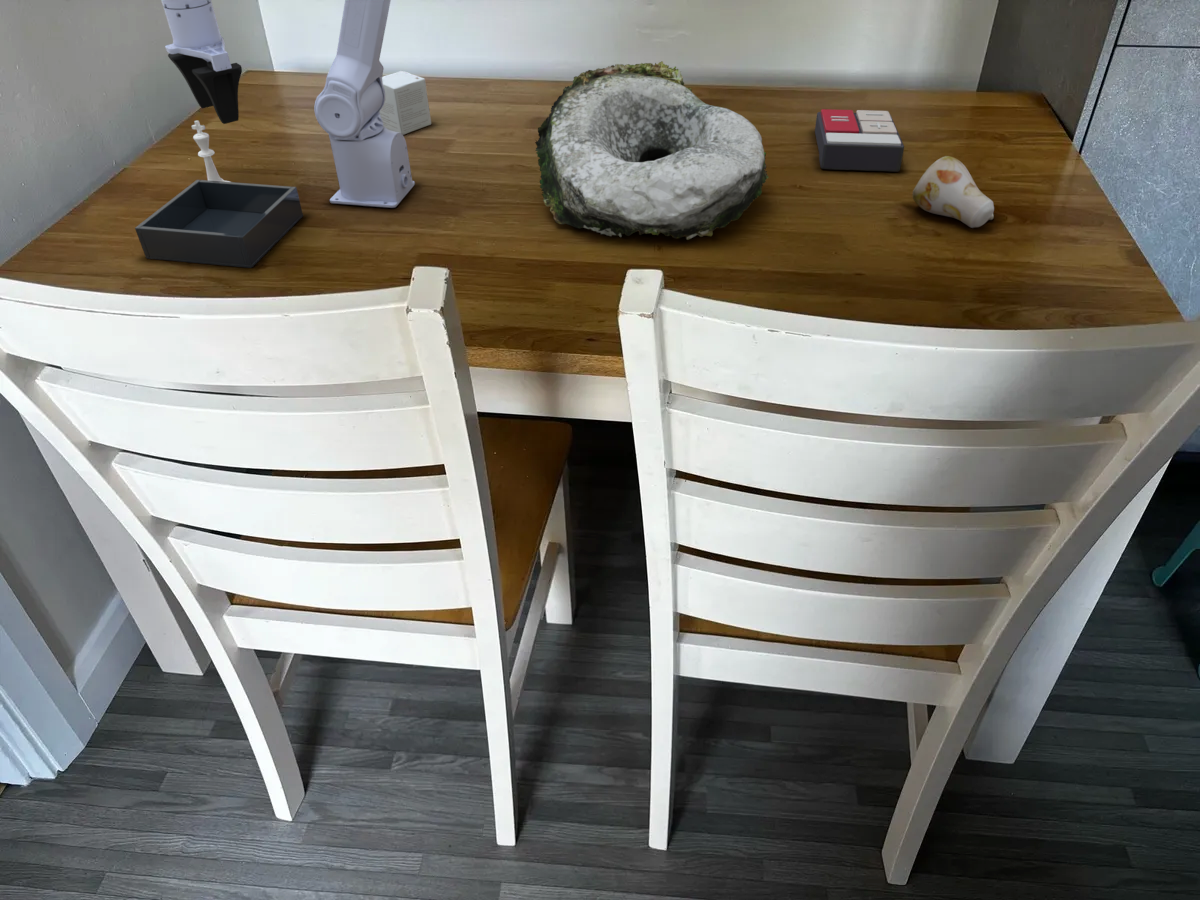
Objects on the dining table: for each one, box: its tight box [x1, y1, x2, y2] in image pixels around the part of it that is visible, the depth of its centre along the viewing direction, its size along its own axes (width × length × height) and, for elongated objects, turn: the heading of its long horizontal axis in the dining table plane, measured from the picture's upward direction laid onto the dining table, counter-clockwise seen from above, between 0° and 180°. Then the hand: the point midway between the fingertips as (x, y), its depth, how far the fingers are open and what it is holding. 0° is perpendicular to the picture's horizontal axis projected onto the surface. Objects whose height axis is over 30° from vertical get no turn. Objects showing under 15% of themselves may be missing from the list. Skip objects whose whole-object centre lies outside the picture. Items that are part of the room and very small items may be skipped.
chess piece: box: [191, 120, 231, 182], centre depth 123 cm, size 5×5×10 cm
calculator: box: [814, 108, 905, 173], centre depth 133 cm, size 11×4×15 cm
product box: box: [380, 70, 432, 136], centre depth 142 cm, size 6×6×7 cm
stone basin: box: [534, 60, 770, 241], centre depth 118 cm, size 29×30×15 cm
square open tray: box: [134, 179, 304, 269], centre depth 114 cm, size 14×14×4 cm
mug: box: [912, 155, 995, 229], centre depth 115 cm, size 8×10×10 cm
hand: (219, 113), depth 121 cm, fingers open, 7 cm apart
